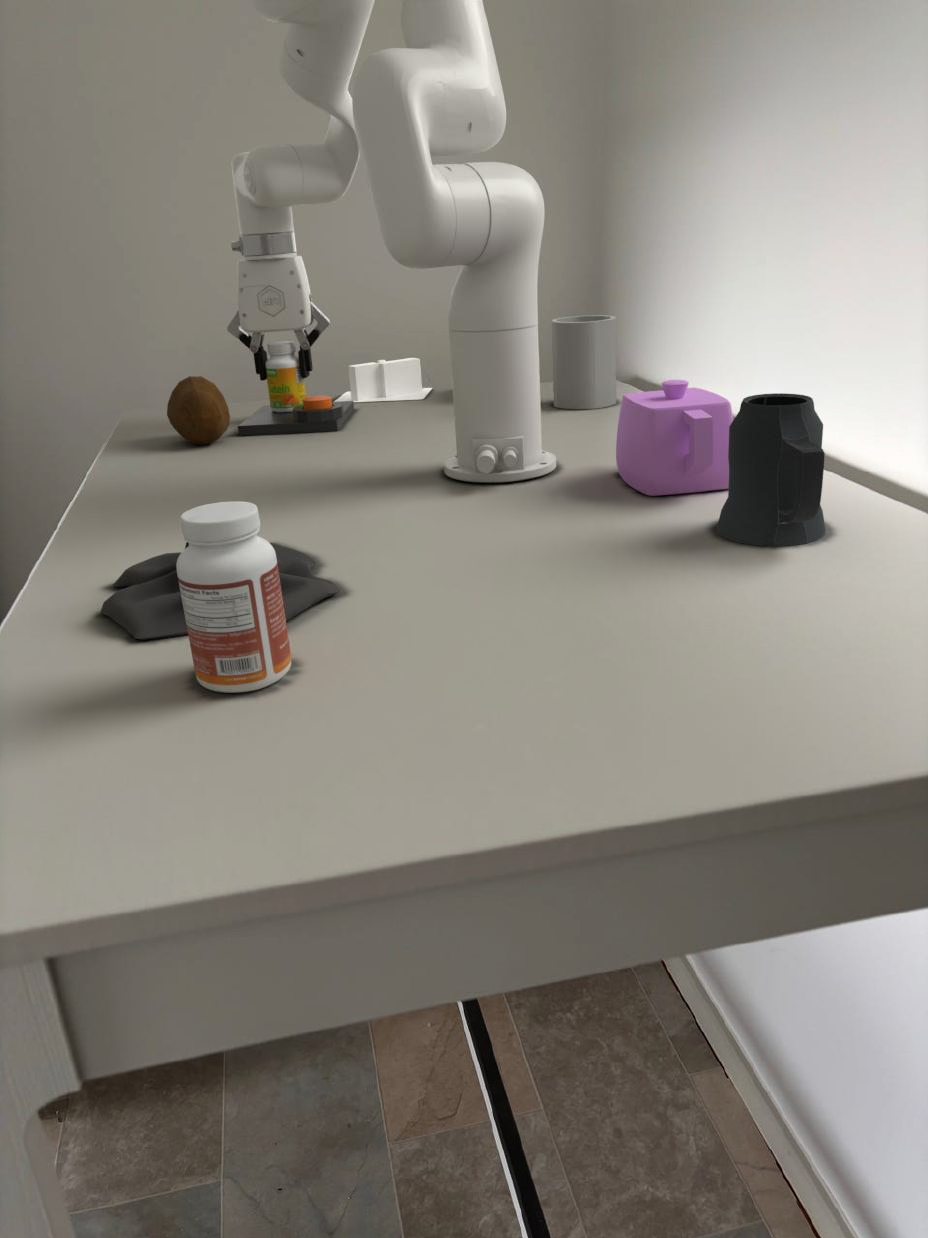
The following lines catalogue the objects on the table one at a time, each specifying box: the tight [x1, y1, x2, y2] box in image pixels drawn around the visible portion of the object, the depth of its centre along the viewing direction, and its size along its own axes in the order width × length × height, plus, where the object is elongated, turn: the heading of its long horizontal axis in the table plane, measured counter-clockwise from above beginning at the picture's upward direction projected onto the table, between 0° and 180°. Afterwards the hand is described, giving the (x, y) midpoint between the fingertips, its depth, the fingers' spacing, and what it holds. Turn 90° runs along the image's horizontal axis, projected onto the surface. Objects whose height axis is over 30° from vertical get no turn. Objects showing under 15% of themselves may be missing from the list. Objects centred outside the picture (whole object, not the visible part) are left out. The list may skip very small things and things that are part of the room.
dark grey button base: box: [237, 401, 355, 437], centre depth 149 cm, size 16×14×3 cm
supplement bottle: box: [265, 340, 307, 413], centre depth 150 cm, size 5×5×10 cm
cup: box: [550, 314, 617, 410], centre depth 148 cm, size 9×9×12 cm
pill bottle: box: [176, 500, 292, 694], centre depth 64 cm, size 6×6×11 cm
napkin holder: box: [333, 357, 433, 403], centre depth 167 cm, size 15×11×6 cm
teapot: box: [615, 379, 734, 497], centre depth 104 cm, size 18×10×10 cm, turn 8°
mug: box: [715, 392, 826, 547], centre depth 85 cm, size 12×9×11 cm
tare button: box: [303, 395, 333, 410], centre depth 144 cm, size 4×4×2 cm
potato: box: [166, 375, 231, 445], centre depth 139 cm, size 8×12×9 cm
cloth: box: [100, 541, 340, 641], centre depth 81 cm, size 22×19×6 cm
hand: (285, 376), depth 150 cm, fingers closed on supplement bottle, 5 cm apart
